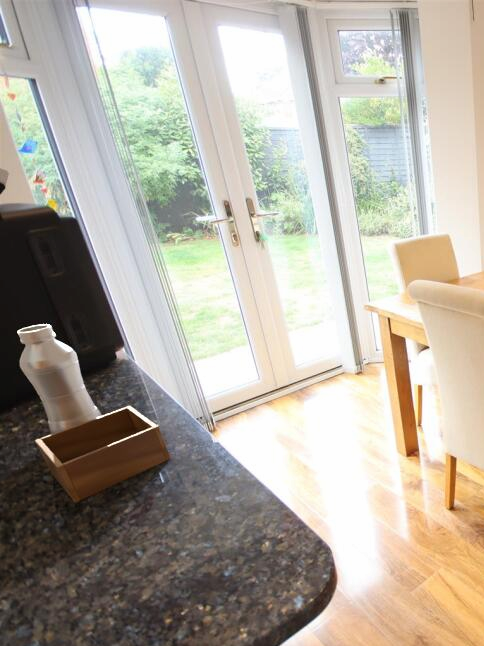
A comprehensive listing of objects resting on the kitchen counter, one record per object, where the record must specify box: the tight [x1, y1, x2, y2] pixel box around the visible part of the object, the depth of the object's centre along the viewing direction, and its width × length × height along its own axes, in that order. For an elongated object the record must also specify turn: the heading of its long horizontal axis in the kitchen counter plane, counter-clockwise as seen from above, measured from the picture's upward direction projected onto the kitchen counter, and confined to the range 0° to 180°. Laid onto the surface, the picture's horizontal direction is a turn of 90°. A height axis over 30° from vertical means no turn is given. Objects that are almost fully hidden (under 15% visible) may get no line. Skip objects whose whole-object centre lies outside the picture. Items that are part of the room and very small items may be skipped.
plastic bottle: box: [17, 323, 103, 435], centre depth 75 cm, size 6×7×20 cm
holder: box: [34, 405, 172, 504], centre depth 70 cm, size 12×12×6 cm
